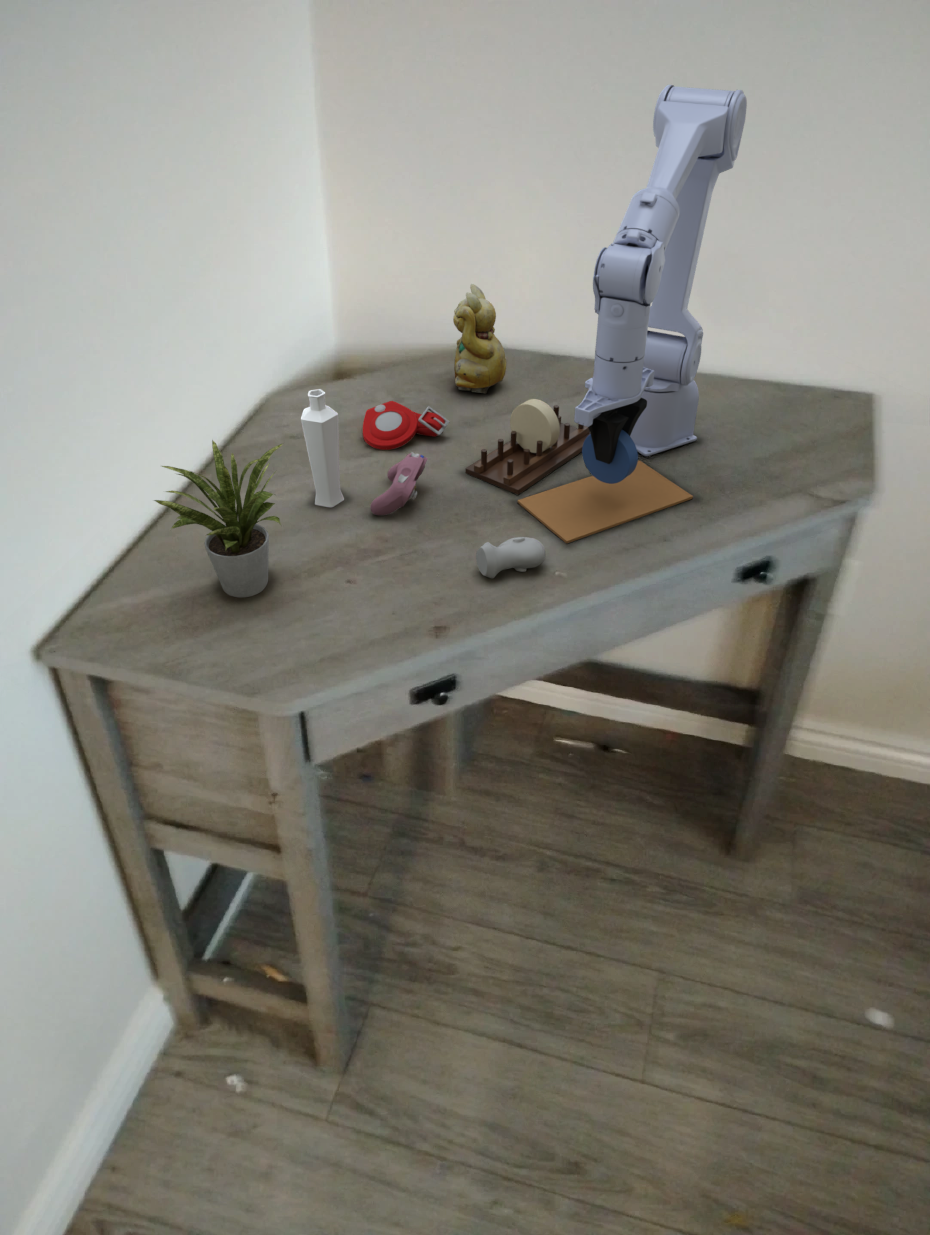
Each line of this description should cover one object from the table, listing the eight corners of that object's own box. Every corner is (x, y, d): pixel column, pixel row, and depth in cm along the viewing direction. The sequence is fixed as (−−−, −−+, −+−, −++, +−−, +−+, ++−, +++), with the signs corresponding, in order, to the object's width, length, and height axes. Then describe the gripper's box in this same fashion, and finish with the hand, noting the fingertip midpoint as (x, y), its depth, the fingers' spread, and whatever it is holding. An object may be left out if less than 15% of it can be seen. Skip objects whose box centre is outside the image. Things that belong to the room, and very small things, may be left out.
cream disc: (517, 438, 132) (519, 392, 127) (558, 454, 128) (561, 407, 124) (509, 444, 130) (510, 398, 126) (550, 459, 127) (552, 412, 122)
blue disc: (588, 467, 121) (592, 418, 117) (635, 485, 118) (641, 435, 113) (579, 473, 120) (583, 424, 115) (626, 491, 116) (632, 441, 112)
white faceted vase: (352, 493, 123) (341, 387, 113) (338, 510, 120) (326, 402, 110) (320, 487, 124) (307, 382, 114) (306, 504, 121) (291, 397, 111)
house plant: (250, 530, 116) (228, 410, 106) (334, 566, 110) (320, 442, 100) (161, 587, 107) (128, 462, 97) (248, 630, 101) (222, 501, 91)
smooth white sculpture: (536, 561, 112) (550, 573, 108) (472, 570, 111) (484, 583, 106) (534, 526, 111) (549, 537, 106) (469, 535, 109) (481, 547, 104)
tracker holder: (371, 450, 129) (348, 405, 135) (378, 471, 133) (355, 427, 138) (451, 418, 131) (425, 375, 136) (455, 440, 134) (430, 397, 140)
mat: (639, 462, 128) (639, 460, 128) (692, 498, 121) (693, 496, 121) (517, 502, 121) (517, 500, 120) (566, 543, 113) (566, 541, 113)
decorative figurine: (457, 370, 152) (456, 278, 142) (508, 372, 151) (509, 279, 142) (450, 396, 144) (448, 300, 135) (503, 398, 144) (505, 302, 134)
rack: (546, 422, 138) (548, 398, 135) (598, 440, 133) (600, 416, 131) (465, 473, 127) (464, 448, 124) (518, 495, 122) (518, 469, 120)
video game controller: (398, 530, 119) (420, 490, 114) (365, 513, 118) (387, 472, 113) (416, 490, 126) (437, 451, 122) (386, 474, 125) (407, 434, 121)
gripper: (623, 326, 114) (613, 426, 123) (555, 364, 106) (549, 469, 114) (674, 340, 111) (660, 442, 119) (608, 380, 102) (598, 487, 111)
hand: (609, 456), depth 117 cm, fingers closed on blue disc, 2 cm apart
